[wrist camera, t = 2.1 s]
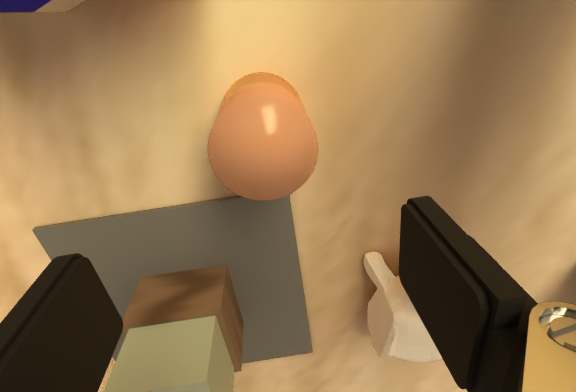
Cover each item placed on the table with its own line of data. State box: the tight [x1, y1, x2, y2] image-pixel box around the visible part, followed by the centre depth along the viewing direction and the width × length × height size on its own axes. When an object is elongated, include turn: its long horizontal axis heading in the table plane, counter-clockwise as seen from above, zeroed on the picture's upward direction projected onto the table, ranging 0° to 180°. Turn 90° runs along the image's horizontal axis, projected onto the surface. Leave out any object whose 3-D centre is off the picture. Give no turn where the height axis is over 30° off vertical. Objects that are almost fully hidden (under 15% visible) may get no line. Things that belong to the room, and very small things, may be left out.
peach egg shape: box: [208, 73, 318, 200], centre depth 20 cm, size 6×6×7 cm
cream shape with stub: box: [363, 251, 443, 363], centre depth 28 cm, size 9×8×15 cm
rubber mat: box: [33, 195, 313, 363], centre depth 31 cm, size 20×20×1 cm
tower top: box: [103, 316, 234, 392], centre depth 24 cm, size 6×6×5 cm
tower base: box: [122, 264, 244, 372], centre depth 28 cm, size 8×8×5 cm
